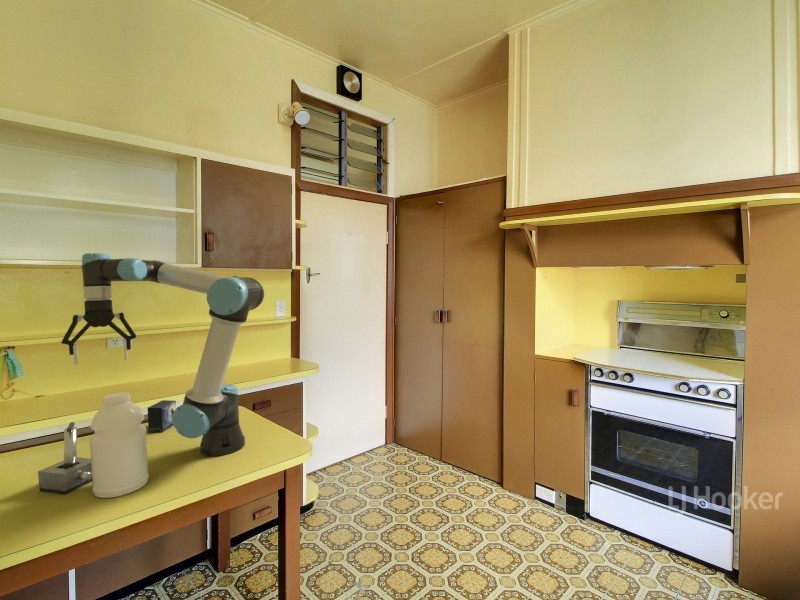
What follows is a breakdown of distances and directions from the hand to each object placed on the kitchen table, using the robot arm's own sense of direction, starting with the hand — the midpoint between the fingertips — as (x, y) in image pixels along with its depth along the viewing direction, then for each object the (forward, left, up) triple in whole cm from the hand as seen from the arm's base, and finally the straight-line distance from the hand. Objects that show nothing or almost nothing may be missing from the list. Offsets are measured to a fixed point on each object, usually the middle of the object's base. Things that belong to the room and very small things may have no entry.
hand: (101, 361), depth 137 cm
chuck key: (-3, +15, -34) cm, 37 cm away
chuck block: (-4, +15, -35) cm, 38 cm away
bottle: (-20, +13, -35) cm, 42 cm away
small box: (+7, -31, -35) cm, 47 cm away
